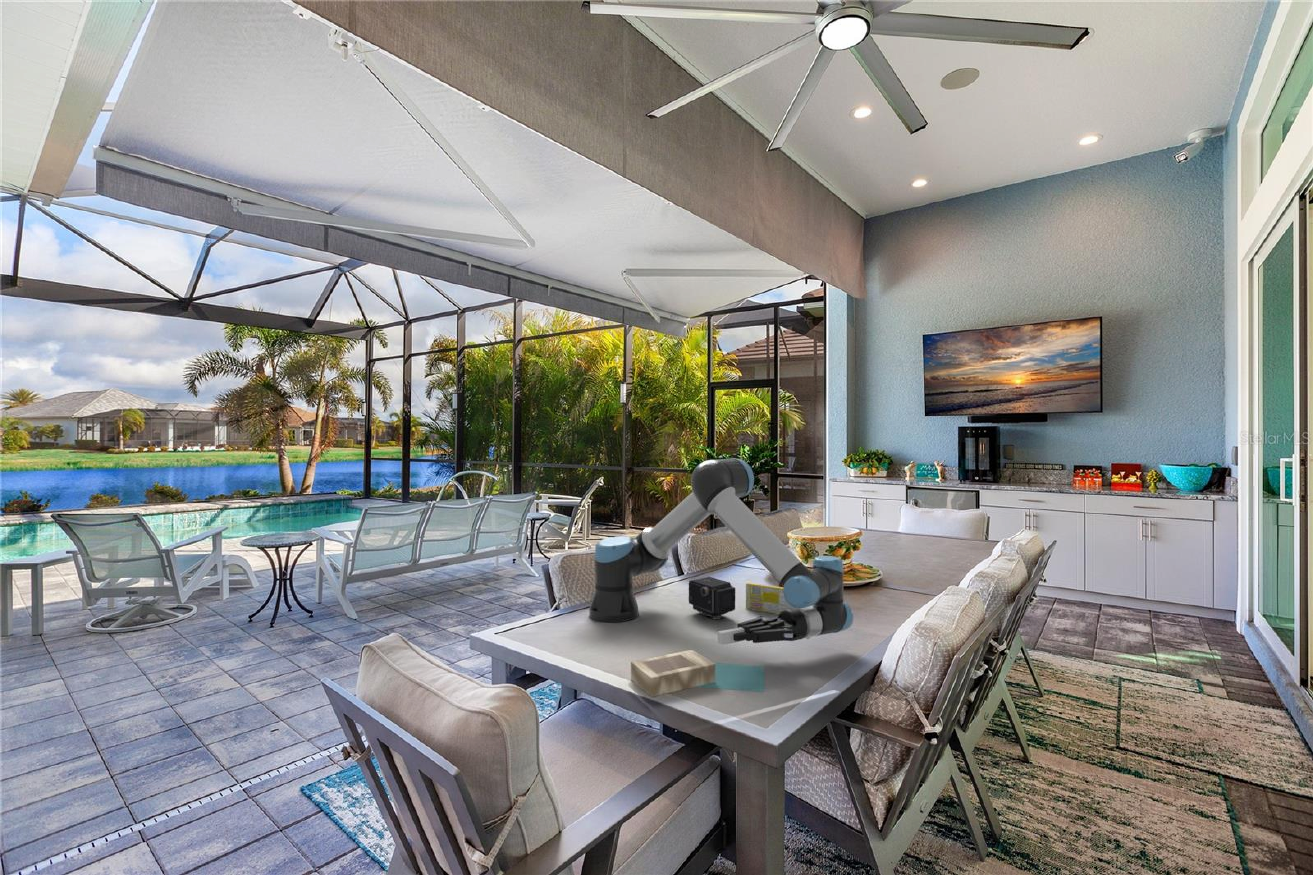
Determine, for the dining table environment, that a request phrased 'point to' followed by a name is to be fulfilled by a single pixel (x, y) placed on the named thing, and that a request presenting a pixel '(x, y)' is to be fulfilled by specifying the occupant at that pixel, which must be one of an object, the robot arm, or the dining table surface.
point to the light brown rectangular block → (672, 672)
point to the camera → (712, 596)
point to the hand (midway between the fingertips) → (719, 638)
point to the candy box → (766, 598)
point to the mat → (737, 677)
